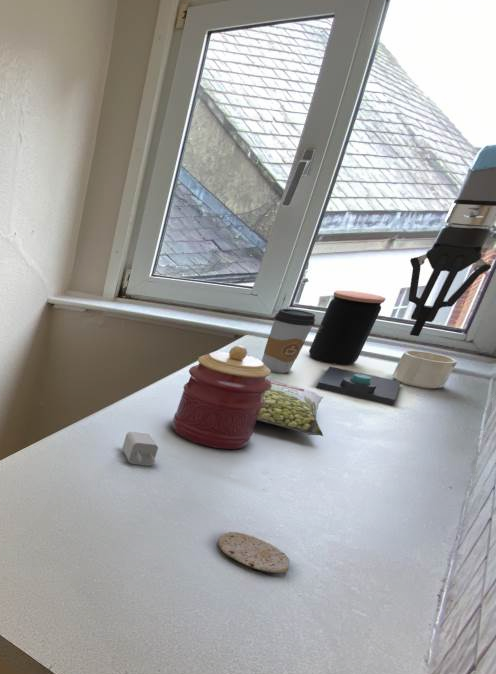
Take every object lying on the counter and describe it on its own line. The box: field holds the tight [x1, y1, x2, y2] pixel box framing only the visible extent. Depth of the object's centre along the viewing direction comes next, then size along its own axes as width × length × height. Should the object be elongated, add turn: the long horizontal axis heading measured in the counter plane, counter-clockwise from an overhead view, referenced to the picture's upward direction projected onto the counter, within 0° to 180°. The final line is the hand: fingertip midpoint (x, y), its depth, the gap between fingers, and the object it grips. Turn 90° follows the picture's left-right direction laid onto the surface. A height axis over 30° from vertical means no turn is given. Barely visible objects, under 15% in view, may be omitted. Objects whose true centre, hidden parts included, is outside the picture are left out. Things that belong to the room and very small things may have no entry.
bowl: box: [391, 349, 458, 390], centre depth 136 cm, size 10×10×7 cm
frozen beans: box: [257, 380, 324, 437], centre depth 115 cm, size 21×6×25 cm
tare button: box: [351, 374, 371, 385], centre depth 127 cm, size 3×3×2 cm
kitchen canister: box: [172, 345, 272, 450], centre depth 101 cm, size 13×13×18 cm
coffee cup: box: [261, 308, 316, 374], centre depth 140 cm, size 8×8×15 cm
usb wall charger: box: [121, 431, 159, 466], centre depth 93 cm, size 4×7×4 cm, turn 170°
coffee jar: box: [308, 290, 386, 366], centre depth 149 cm, size 11×11×18 cm
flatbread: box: [217, 531, 290, 574], centre depth 71 cm, size 8×8×1 cm
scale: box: [316, 366, 401, 406], centre depth 132 cm, size 14×19×3 cm
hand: (414, 334), depth 127 cm, fingers closed
